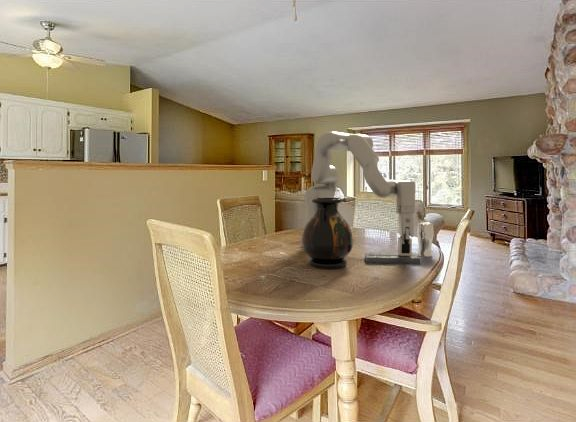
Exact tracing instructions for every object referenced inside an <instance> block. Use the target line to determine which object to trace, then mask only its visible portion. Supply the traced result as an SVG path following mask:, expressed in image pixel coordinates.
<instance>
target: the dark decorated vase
mask: <svg viewBox="0 0 576 422" xmlns="http://www.w3.org/2000/svg"><path fill="white" fill-rule="evenodd" d="M312 202H313V203H315V204H316V207H317V210H316V213H315V214H314V215H313V217H312V218H311V219H310V220H309V221H308V222H307V221H306V224H305V226H304V229H303V231H302V235H301V245H302V248H303V251H304V252H305V254H306V255H307V256H308V257H310V258H308V261H307V263H308V265H309V266H311V267H313V268H316V269H320V270H321V269H323V270H335V269H339V268H343V267H346V265H347V263H348V259H346V257H348V255H349V254H350V253H351V252H352V250H353V246H354V236H353V231H352V228H351V227H350V224H349V223H348V221H347V220H346V219H345V218H344V217H343V216H342V214H341V213H340V212H339V210H338V208H339V204H342V203H343V199H342V198H341V197H334V198H314V199H312Z"/></svg>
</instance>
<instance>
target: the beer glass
mask: <svg viewBox="0 0 576 422" xmlns="http://www.w3.org/2000/svg"><path fill="white" fill-rule="evenodd" d="M434 227H435V226H434V222H430V221H429V222H428V221H419V222H417V229H416V231H417V232H416V235H417V243H418V251H417V255H418V256H419V257H420V258H422V257H423V258H431V257H432V256H433V254H432V244H433V240H434V234H435V233H434Z"/></svg>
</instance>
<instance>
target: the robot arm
mask: <svg viewBox="0 0 576 422" xmlns="http://www.w3.org/2000/svg"><path fill="white" fill-rule="evenodd" d="M332 151H344V152H345V151H346V152H350V153H351V154H352V156H353V157H354V158H355V160H356V162H357V163H358V164H359V166H360V167H361V168H362V174H363V177H364V180H365V182H366V184H367V185H368V187H369V188H370V190H371V191H372V192H373V193H374V195H375V196H377V197H378V198H380V199H385V198H387V199H388V198H392V197H393V198H395V197H396V199H395V200H396V202H395V203H396V206H395V212H396V214H398V219H397V220H398V222H397V226H398V227H397V229H398V230H397V231H398V234H399V235H400V236H399V238H403V244H402V253H410V238H414V236H415V234H414V232H415V231H414V229H415V228H414V225H415V224H414V214H416V213H415V212H416V182H415V181H414V180H408V179H407V180H398V179H385V178H384V176H383V175H382V173H381V172H380V170H379V168H378V163H379V161H380V157H379V156H378V155H377V152H375V150H374V141H373V139H372V137H371V136H370V135H367V134H362V133H348V132H339V131H327V132H324V133H323V134H321V135H320V136H319V137H318V139H317V140H316V143H315V149H314V158H313V163H312V168H311V173H310V174H311V175H310V177H311V181H312V182H313V183H314V184H316V185H314V186H310V187H309V188H307V189H306V190H305V192H304V202H305V205H306V206H305V207H306V223H307V222H308V221H309V220H310V219H311V218H312V217H313V215H314V214H315V213H316V210H317V207H316V204H315V203H313V202H312V199H314V198H335V194H336V190H337V186H338V181H339V172H338V169H337V168H336V166H333V165H332V164H331V163H332V158H333V157H332ZM404 238H406V239H404Z"/></svg>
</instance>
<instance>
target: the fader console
mask: <svg viewBox="0 0 576 422" xmlns="http://www.w3.org/2000/svg"><path fill="white" fill-rule="evenodd" d="M421 258H422V257H421V256H418V253H416V252H415V253H414V252H412V256H403V255H399V254H398V252H364V259H365V262H366V264H383V265H384V264H387V265H388V264H389V265H392V264H393V265H421V260H422V259H421Z"/></svg>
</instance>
